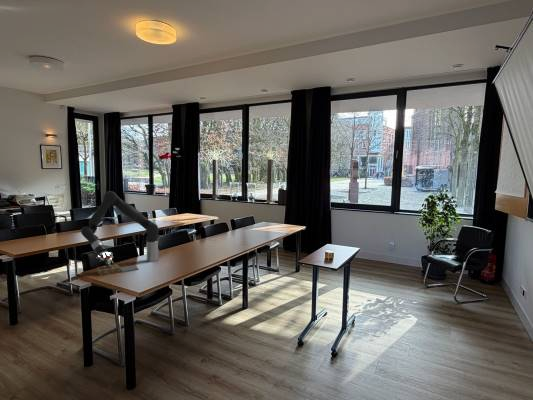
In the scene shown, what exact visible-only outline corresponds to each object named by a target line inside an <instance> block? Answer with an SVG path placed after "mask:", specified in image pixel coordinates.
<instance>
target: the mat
mask: <svg viewBox="0 0 533 400" xmlns="http://www.w3.org/2000/svg"><path fill="white" fill-rule="evenodd" d="M119 267H120V273H127V272H132V271H139V267H137V266H136V264H134V265H133V264H132V265H127V266H119Z"/></svg>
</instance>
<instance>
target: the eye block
mask: <svg viewBox="0 0 533 400" xmlns="http://www.w3.org/2000/svg"><path fill="white" fill-rule="evenodd" d="M120 267H121V266H119V265H118V264H117V263H116V264H115V263H113V265H111V268H107V266H106V265H103V266H97V267H96V270H97V271H96V272H97V274H98V275H99V276H105V275H106V276H107V275H112V274H119V273H121V271H120Z"/></svg>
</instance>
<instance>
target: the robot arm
mask: <svg viewBox="0 0 533 400" xmlns="http://www.w3.org/2000/svg"><path fill="white" fill-rule="evenodd" d="M112 205H113V206H114V207H115V208H117V209H118V210H119V211H120V212H121V213H122V214H123V215H124V216H126V218H129V219H130V220H131V221H132V222H135V223H137V224H138V225H140V226H141V227H143V229H145V231H146V262H148V263H154V262H158V261H159V260H160V259H159V258H160V254H159V253H160V250H159V240H158V239H159V227H158V224H157V223H155V222H153V221H152V220H149V219H148V218H147V217H145V216H144V215H143V213H141V212H140V210H138V209H137V208H136V207H134V206H132V205H131V204H130V203H128V202H126V201H124V200H123V199H122V198H120V197H119V196H118V195H117V194H116V192H114V191H111V190H108V191H106V192H104V194H103V199H102V201H101V204H100V205H99V207H98V208H97V209H96V210H95V212H94V213H93V214H92V215H91V217H90V219H89V221H88V224H89V226H82V227H81V230H80V233H81V235H82V236H83V238H85V240H87V241H88V243H89V244H90V246H91V248H92V250H94V252H95V255H97V256H96V257H95V259H96V260H97V261H99V262H100V263H101V264H102V263H104V264H105V266H109V265H110V264H109V263H108V261H107V260H106V258H105V256H111V265H114V261H113V259H114V256H113V255H114V254H113V252H112V251H110V252H109V251H108V250H107V248H106V246H105V245H104V243H103V242H102V241H101V239H100V238H99V237H98V236H97V235H96V234H95V233H96V232H97V228H98V225H100V224H99V223H101V221H102V219H103V218H104V216H105V215H106V213H107V211H108V209H109V208H110V207H111V206H112Z"/></svg>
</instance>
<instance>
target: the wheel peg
mask: <svg viewBox="0 0 533 400" xmlns="http://www.w3.org/2000/svg"><path fill="white" fill-rule="evenodd" d="M105 258H106V260H107V261H108V263H109V264H110V265H109V266H107V268H111V256H105Z"/></svg>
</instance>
